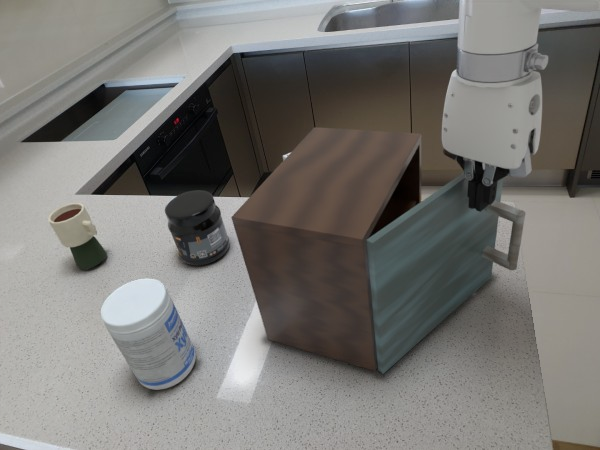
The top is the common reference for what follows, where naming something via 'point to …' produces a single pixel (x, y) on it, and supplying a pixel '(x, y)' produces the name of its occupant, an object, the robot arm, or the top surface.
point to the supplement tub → (149, 333)
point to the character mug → (77, 234)
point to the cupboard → (326, 237)
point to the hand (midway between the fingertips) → (480, 204)
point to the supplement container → (197, 227)
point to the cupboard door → (433, 264)
